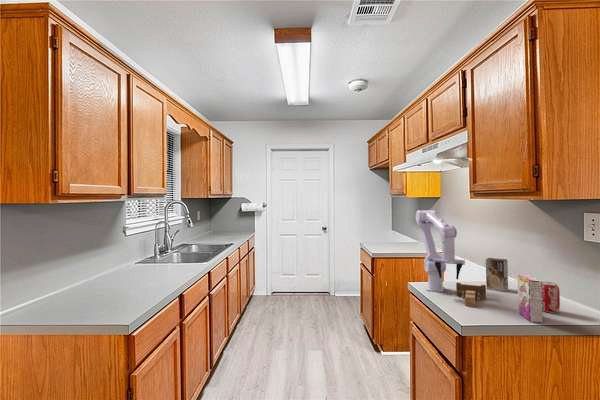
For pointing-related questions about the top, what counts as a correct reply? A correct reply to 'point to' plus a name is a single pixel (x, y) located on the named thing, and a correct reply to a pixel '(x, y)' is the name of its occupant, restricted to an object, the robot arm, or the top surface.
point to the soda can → (550, 297)
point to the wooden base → (479, 290)
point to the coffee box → (497, 274)
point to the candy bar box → (530, 298)
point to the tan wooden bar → (470, 298)
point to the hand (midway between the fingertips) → (448, 278)
